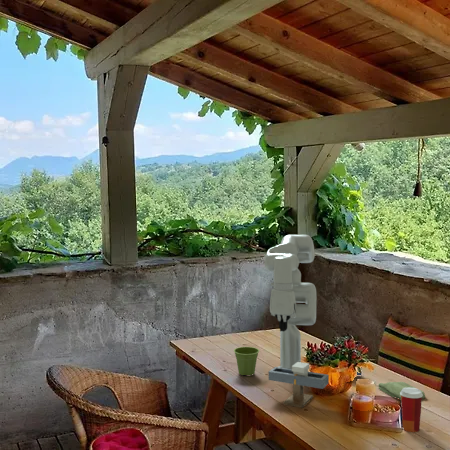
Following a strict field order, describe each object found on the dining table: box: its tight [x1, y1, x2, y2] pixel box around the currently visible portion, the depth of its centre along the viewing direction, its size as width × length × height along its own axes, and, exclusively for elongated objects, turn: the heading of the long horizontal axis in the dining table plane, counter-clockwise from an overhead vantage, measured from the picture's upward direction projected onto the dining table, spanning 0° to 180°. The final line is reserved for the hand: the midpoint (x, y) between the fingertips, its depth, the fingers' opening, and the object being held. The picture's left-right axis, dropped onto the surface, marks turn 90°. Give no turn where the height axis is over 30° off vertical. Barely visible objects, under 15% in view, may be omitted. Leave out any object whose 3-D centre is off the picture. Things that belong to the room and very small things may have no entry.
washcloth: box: [377, 381, 426, 400], centre depth 240 cm, size 13×18×3 cm
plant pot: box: [233, 346, 260, 376], centre depth 266 cm, size 12×12×11 cm
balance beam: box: [268, 366, 330, 409], centre depth 232 cm, size 23×12×12 cm, turn 62°
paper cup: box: [400, 387, 423, 433], centre depth 204 cm, size 8×8×14 cm
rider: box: [292, 362, 310, 376], centre depth 231 cm, size 5×6×5 cm
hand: (283, 330), depth 237 cm, fingers closed
